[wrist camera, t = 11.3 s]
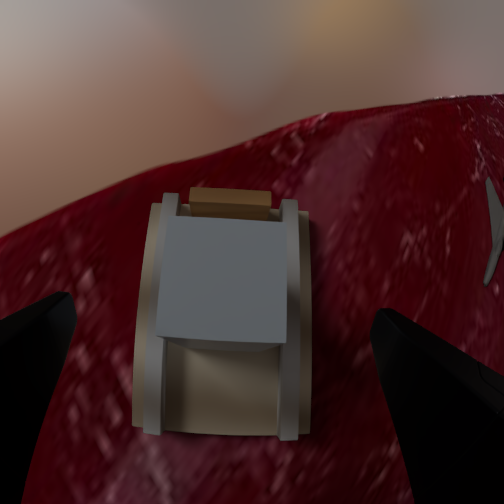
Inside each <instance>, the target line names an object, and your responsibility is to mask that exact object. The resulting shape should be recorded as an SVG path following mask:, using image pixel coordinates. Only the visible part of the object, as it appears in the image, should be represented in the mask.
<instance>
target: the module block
mask: <svg viewBox="0 0 504 504" xmlns="http://www.w3.org/2000/svg"><path fill="white" fill-rule="evenodd" d="M286 326H287V223H285V222H271V221H256V220H240V219H224V218H206V217H187V216H168V223H167V229H166V237H165V244H164V252H163V260H162V268H161V276H160V286H159V295H158V305H157V316H156V328H155V336H157V337H160V338H162V339H165V340H167V341H170V342H172V343H175V344H177V345H180V346H182V347H185V348H193V349H207V350H224V351H246V352H260V351H263V350H266V349H269V348H273V347H276V346H279V345H282V344H285V343H286Z"/></svg>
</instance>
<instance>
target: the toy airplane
mask: <svg viewBox="0 0 504 504" xmlns="http://www.w3.org/2000/svg"><path fill="white" fill-rule="evenodd" d="M503 180H504V179H503ZM485 183H486V189H487V195H488V203H489V210H490V219H491V229H492V242H493V248H492V251H491V254H490V257H489V261H488V264H487V268H486V272H485V276H484V281H483V283H485V284H484V287H485V285H486V286H487V285H488V283H489V281H490V279H491V277H492V275H493V273H494V270H495V268H496V265H497V261H498V258H499V255H500V253H501V252H502V251H503V250H504V206H503V208H502V205H501V203H500V201H499V198H498V196H497V194H496V191H495V189H494V187H493V185H492V182H491V180H490V178H489V177H488V179H487V180H486V182H485Z"/></svg>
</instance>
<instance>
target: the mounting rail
mask: <svg viewBox="0 0 504 504" xmlns="http://www.w3.org/2000/svg"><path fill="white" fill-rule="evenodd" d="M270 208H271V192H269V191H254V190H238V189H219V188H197V187H191V189H190V197H189V204H181V201H180V197H179V193H164V195H163V201H162V203H152V207H151V213H150V219H149V225H148V231H147V238H146V245H145V252H144V259H143V267H142V275H141V283H140V292H139V302H138V312H137V323H136V336H135V351H134V369H133V398H132V426H138V427H143V433H147V434H155V435H161V434H162V433H163V432H164V431H165V430H168V431H177V432H188V433H201V434H219V435H277V436H278V438H279V439H280V440H281V441H283V440H298V434H310V417H311V378H312V305H311V264H310V238H309V217H308V211H298V201H297V200H289V199H282V202H281V205H280V208H279V209H270ZM168 216H187V217H206V218H224V219H240V220H256V221H271V222H285V223H287V326H286V343H285V344H282V345H279V346H276V347H273V348H269V349H266V350H263V351H260V352H246V351H224V350H207V349H193V348H185V347H182V346H180V345H177V344H175V343H172V342H170V341H167V340H165V339H162V338H160V337H157V336H155V328H156V316H157V305H158V295H159V286H160V276H161V268H162V260H163V252H164V244H165V237H166V229H167V223H168Z"/></svg>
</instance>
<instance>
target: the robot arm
mask: <svg viewBox="0 0 504 504" xmlns="http://www.w3.org/2000/svg"><path fill="white" fill-rule="evenodd" d="M76 324H77V314H76V310H75V306H74V302H73V298H72V295H71V294H70V293H69V292H61V291H58V292H56V293H54V294H51V295H49V296H47V297H45V298H43V299H41V300H39V301H37V302H35V303H33V304H31V305H29V306H27V307H25V308H23V309H21V310H19V311H17V312H15V313H13V314H11V315H9V316H7V317H5V318H3V319H1V320H0V504H21V501H22V496H23V492H24V487H25V481H26V478H27V475H28V471H29V467H30V463H31V460H32V456H33V452H34V449H35V446H36V442H37V439H38V436H39V433H40V429H41V426H42V423H43V420H44V417H45V414H46V411H47V409H48V406H49V403H50V400H51V397H52V395H53V392H54V389H55V387H56V384H57V381H58V379H59V376H60V374H61V371H62V368H63V366H64V363H65V360H66V357H67V353H68V350H69V346H70V343H71V340H72V336H73V333H74V330H75V327H76ZM370 340H371V344H372V349H373V353H374V358H375V362H376V367H377V371H378V376H379V380H380V383H381V386H382V389H383V392H384V395H385V398H386V401H387V405H388V408H389V411H390V414H391V417H392V421H393V424H394V427H395V431H396V434H397V437H398V441H399V444H400V448H401V451H402V455H403V458H404V462H405V466H406V469H407V473H408V477H409V481H410V485H411V489H412V493H413V497H414V502H415V504H504V376H502V375H500V374H499V373H497V372H495V371H494V370H492V369H490V368H489V367H487V366H485V365H484V364H482V363H481V362H479V361H478V362H477V360H476V359H474V358H472V357H471V356H469V355H468V354H466V353H464V352H463V351H461V350H459V349H458V348H456V347H455V346H453V345H451V344H450V343H448V342H446V341H445V340H443V339H442V338H440V337H438V336H437V335H435V334H433V333H432V332H430V331H428V330H427V329H425V328H423V327H422V326H420V325H418V324H417V323H415V322H413V321H412V320H410V319H408V318H407V317H405V316H403V315H402V314H400V313H398V312H397V311H395V310H393V309H391V308H380V309H379V310H378V311H377V312H376V315H375V318H374V321H373V324H372V327H371V330H370Z"/></svg>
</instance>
